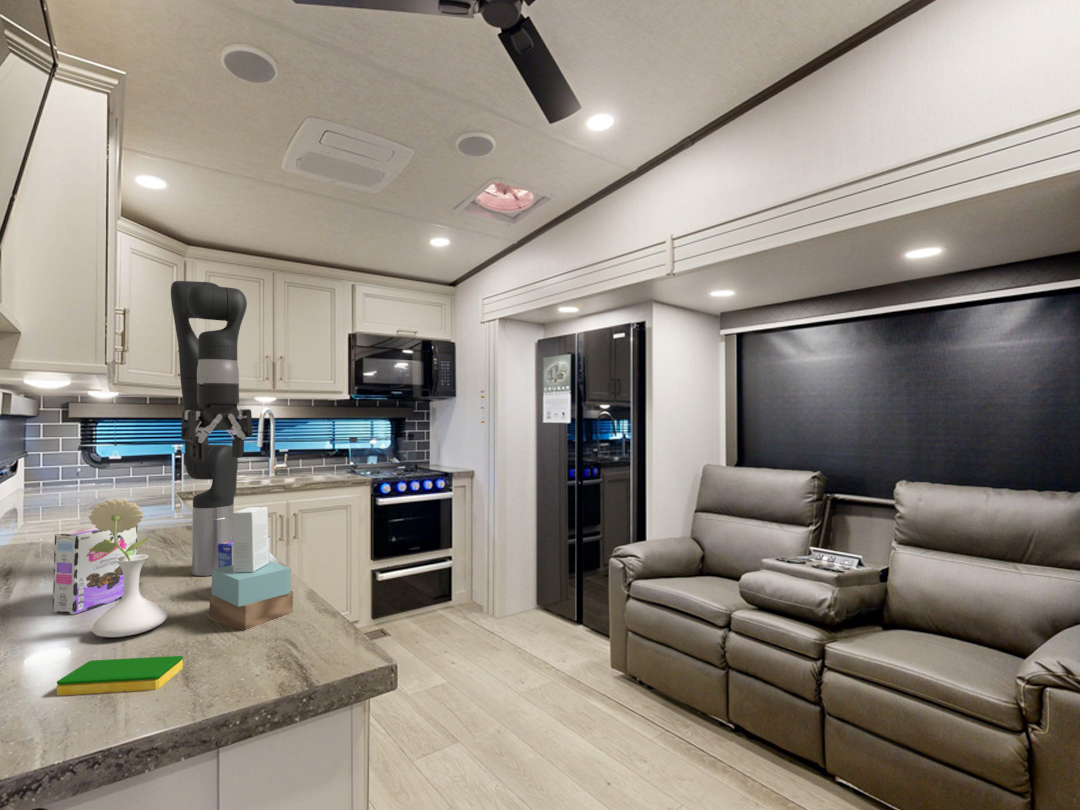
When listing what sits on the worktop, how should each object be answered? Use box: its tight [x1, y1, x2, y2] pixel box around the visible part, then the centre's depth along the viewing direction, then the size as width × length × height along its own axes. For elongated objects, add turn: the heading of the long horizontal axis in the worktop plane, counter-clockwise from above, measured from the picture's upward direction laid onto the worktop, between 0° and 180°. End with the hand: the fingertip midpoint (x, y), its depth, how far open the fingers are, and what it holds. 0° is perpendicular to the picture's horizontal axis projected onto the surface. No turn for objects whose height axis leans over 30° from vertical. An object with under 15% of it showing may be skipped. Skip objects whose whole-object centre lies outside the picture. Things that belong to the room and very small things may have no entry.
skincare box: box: [232, 506, 269, 573], centre depth 108 cm, size 6×4×12 cm
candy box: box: [52, 526, 138, 615], centre depth 116 cm, size 14×6×16 cm, turn 168°
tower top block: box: [211, 560, 292, 607], centre depth 108 cm, size 10×12×5 cm
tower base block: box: [208, 590, 294, 631], centre depth 108 cm, size 10×12×5 cm
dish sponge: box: [56, 655, 184, 697], centre depth 81 cm, size 7×14×2 cm, turn 97°
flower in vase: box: [88, 498, 168, 638], centre depth 101 cm, size 13×11×25 cm
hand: (218, 459), depth 111 cm, fingers open, 8 cm apart
